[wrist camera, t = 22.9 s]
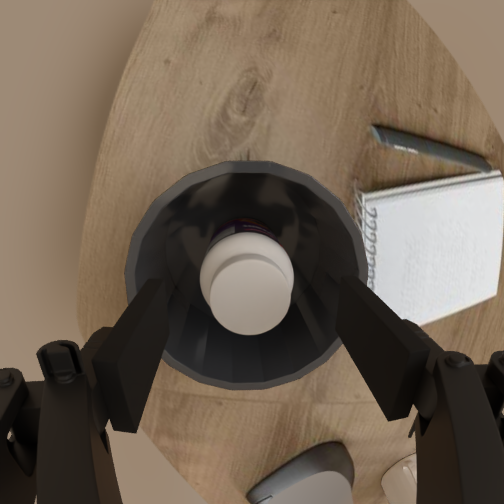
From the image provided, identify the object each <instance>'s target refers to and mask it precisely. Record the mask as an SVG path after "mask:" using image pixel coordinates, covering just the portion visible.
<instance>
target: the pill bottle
mask: <svg viewBox="0 0 504 504" xmlns="http://www.w3.org/2000/svg"><path fill="white" fill-rule="evenodd" d="M293 283H294V272H293V267H292V263H291V261H290V259H289V256H288V254H287V253H286V251H285V250H284V248H283V247H282V245H281V244H280V242H279V241H278V239H277V238H276V236H275V235H274V233H273V232H272V231H271V230H270V229H269V228H268V227H267V226H266V225H264V224H263V223H261V222H259V221H257V220H255V219H251V218H237V219H233V220H230V221H228V222H226V223H224V224H223V225H222V226H220V227H219V228H218V229H217V230H216V232H215V233H214V235H213V236H212V238H211V240H210V243H209V245H208V248H207V251H206V254H205V257H204V260H203V263H202V266H201V271H200V286H201V290H202V294H203V296H204V298H205V300H206V302H207V303H208V305H209V306H210V307H211V310H212V313H213V315H214V316H215V318H216V319H217V320H218V322H219V323H220V324H221V325H222V326H224V327H225V328H226V329H228V330H230V331H232V332H235V333H238V334H243V335H256V334H261V333H264V332H266V331H268V330H271V329H272V328H274V327H275V326H276V325H278V324H279V323H280V322H281V321H282V319H283V318H284V316H285V315H286V313H287V311H288V308H289V305H290V299H291V292H292V289H293Z"/></svg>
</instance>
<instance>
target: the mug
mask: <svg viewBox="0 0 504 504" xmlns="http://www.w3.org/2000/svg"><path fill="white" fill-rule="evenodd" d="M381 485H382V488H383V490H384V492H385V495H386V497H387V499H388V501H389V504H416V493H417V464H416V453H415V454H412V455H410V456H408V457H406V458H404V459H402V460H400V461H399V462H397V463H396V464H394V465H393V466H392V467H391V468H390V469H389V470H388V471H387V472H386V473H385V474H384V476H383V478H382V481H381Z"/></svg>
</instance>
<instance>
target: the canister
mask: <svg viewBox="0 0 504 504" xmlns="http://www.w3.org/2000/svg"><path fill="white" fill-rule="evenodd" d="M237 218H251V219H255V220H257V221H259V222H261V223H263V224H264V225H266V226H267V227H268V228H269V229H270V230H271V231H272V232H273V233H274V235H275V236H276V238H277V239H278V241H279V242H280V244H281V245H282V247H283V248H284V250H285V251H286V253H287V254H288V256H289V259H290V261H291V263H292V267H293V272H294V283H293V289H292V292H291V299H290V305H289V308H288V311H287V313H286V315H285V316H284V318H283V319H282V321H281V322H280V323H279V324H278V325H276V326H275V327H274V328H272V329H271V330H268V331H266V332H264V333H261V334H256V335H243V334H238V333H235V332H232V331H230V330H228V329H226V328H225V327H224V326H222V325H221V324H220V323H219V322H218V320H217V319H216V318H215V316H214V315H213V313H212V310H211V307H210V306H209V305H208V303H207V302H206V300H205V298H204V296H203V294H202V290H201V286H200V271H201V266H202V263H203V260H204V257H205V254H206V251H207V248H208V245H209V243H210V240H211V238H212V236H213V235H214V233H215V232H216V230H217V229H218V228H219V227H220V226H222V225H223V224H224V223H226V222H228V221H230V220H233V219H237ZM368 271H369V270H368V263H367V258H366V253H365V248H364V243H363V239H362V234H361V232H360V230H359V229H358V227H357V225H356V224H355V222H354V220H353V219H352V217H351V215H350V214H349V212H348V210H347V209H346V207H345V206H344V204H343V202H342V201H341V200H340V199H339V198H338V197H337V196H335V195H334V194H333V193H332V192H330V191H329V190H328V189H327V188H326V187H324V186H323V185H322V184H321V183H319V182H318V181H317V180H316V179H314V178H313V177H312V176H310V175H308V174H306V173H303V172H300V171H298V170H295V169H292V168H289V167H286V166H283V165H281V164H278V163H275V162H270V161H225V162H222V163H219V164H216V165H213V166H210V167H207V168H204V169H201V170H198V171H196V172H193V173H190V174H187V175H186V176H184V177H183V178H182V179H180V180H179V181H178V182H176V183H175V184H174V185H173V186H171V187H170V188H169V189H168V190H166V191H165V192H164V193H163V194H161V195H160V196H159V197H158V198H156V199H155V200H154V201H153V202H152V204H151V205H150V207H149V209H148V210H147V212H146V213H145V215H144V217H143V218H142V220H141V221H140V223H139V225H138V226H137V228H136V230H135V231H134V233H133V235H132V239H131V243H130V247H129V252H128V257H127V261H126V266H125V272H124V274H125V283H126V291H127V299H128V306H129V304H130V303H131V301H132V300H133V299H134V297H135V296H136V294H137V293H138V292H139V290H140V289H141V288H142V286H143V285H144V283H145V282H146V281H147V279H165V291H166V301H167V311H168V321H169V330H170V334H169V337H168V340H167V343H166V346H165V349H164V351H163V354H162V357H161V358H162V359H163V360H164V361H165V362H166V363H167V364H169V366H171V367H172V368H174V369H176V370H178V371H179V372H181V373H183V374H185V375H186V376H188V377H190V378H192V379H193V380H195V381H197V382H199V383H203V384H207V385H211V386H215V387H219V388H223V389H228V390H262V389H268V388H272V387H275V386H278V385H282V384H285V383H288V382H292V381H295V380H297V379H300V378H302V377H303V376H305V375H306V374H308V373H310V372H311V371H313V370H314V369H316V368H318V367H319V366H321V365H322V364H324V363H325V362H327V360H329V358H330V357H331V356H332V355H333V354H334V353H335V352H336V351H337V350H338V348H339V347H340V346H341V345H342V344H343V342H342V341H341V339H340V337H339V336H338V334H337V332H336V331H335V326H336V317H337V309H338V300H339V291H340V280H341V276H357V277H358V278H359V279H360V280H361V281H362V282H363V283H364V284H365V285H366V286H367V280H368Z"/></svg>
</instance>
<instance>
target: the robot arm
mask: <svg viewBox="0 0 504 504" xmlns="http://www.w3.org/2000/svg"><path fill="white" fill-rule="evenodd" d="M335 331H336V332H337V334H338V336H339V337H340V339H341V341H342V342H343V344H344V346H345V347H346V349H347V351H348V353H349V354H350V356H351V358H352V359H353V361H354V363H355V365H356V366H357V368H358V370H359V371H360V373H361V375H362V377H363V378H364V380H365V382H366V383H367V385H368V387H369V389H370V390H371V392H372V394H373V396H374V397H375V399H376V401H377V403H378V404H379V406H380V408H381V410H382V412H383V413H384V415H385V417H386V419H387V420H388V422H389V421H393V420H398V419H402V418H406V417H408V415H409V413H410V410H411V408H412V405H413V404H414V406H415V407H416V409H417V410H418V413H417V415H416V418H415V420H414V423H413V425H412V427H411V430H410V432H409V435H408V438H411V437H412V434H413V432H414V431H415V436H416V437H415V438H416V464H417V493H416V504H504V415H503V414H502V410H503V408H504V351H497V352H494V353H493V354H492V355H491V358H490V361H489V363H488V364H483V365H474V363H473V361H472V360H471V358H469V357H468V356H466V355H465V354H462V353H460V352H455V351H444V350H443V349H442V348H441V347H440V346H439V345H438V344H437V343H436V342H435V341H434V340H433V339H431V338H430V337H429V336H428V335H427V334H426V333H425V332H423V330H422V329H421V328H420V327H419V326H418V325H417V324H415V323H413V322H411V321H409V320H407V319H403V320H402V319H401V318H400V317H399V316H398V315H397V314H396V313H395V312H393V311H392V310H391V309H390V308H389V307H388V306H387V305H386V304H385V303H384V302H383V301H382V300H381V299H380V298H379V297H378V296H377V295H376V294H375V293H374V292H373V291H372V290H371V289H370V288H368V287H367V286H366V285H365V284H364V283H363V282H362V281H361V280H360V279H359V278H358V277H357V276H341V280H340V291H339V300H338V309H337V317H336V326H335ZM169 334H170V330H169V321H168V311H167V301H166V291H165V279H147V281H146V282H145V283H144V285H143V286H142V288H141V289H140V290H139V292H138V293H137V294H136V296H135V297H134V299H133V300H132V301H131V303H130V304H129V306H128V307H127V308H126V310H125V311H124V313H123V314H122V315H121V317H120V318H119V320H118V321H117V323H116V324H115V325H114V327H102V328H101V329H99V330H97V331H96V332H94V333H93V334H92V336H91V337H90V338H89V340H88V342H86V344H85V345H84V348H82V349H81V350H79V347H78V345H77V344H76V343H75V342H72V341H68V340H58V341H54V342H50V343H48V344H46V345H44V346H42V347H41V348H40V349H39V350H38V352H37V353H36V355H37V358H38V360H39V364H40V366H41V370H42V372H43V375H44V377H45V380H44V381H32V382H25V380H24V377H23V375H22V372H20V371H19V370H18V369H15V368H3V369H0V504H34V502H35V498H36V494H37V504H123V503H122V499H121V495H120V491H119V486H118V482H117V478H116V474H115V469H114V464H113V459H112V453H111V448H110V442H109V437H108V434H107V432H106V429H105V427H106V424H107V422H108V420H109V419H110V422H111V424H112V427H113V430H114V431H121V432H129V433H136V432H137V430H138V426H139V423H140V420H141V417H142V414H143V411H144V408H145V405H146V401H147V398H148V395H149V392H150V389H151V386H152V383H153V380H154V377H155V375H156V372H157V369H158V366H159V363H160V360H161V357H162V354H163V351H164V349H165V346H166V343H167V340H168V337H169ZM9 431H10V432H11V434H12V435H11V437H10V439H9V440H8V439H7V436H8V433H9Z"/></svg>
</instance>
